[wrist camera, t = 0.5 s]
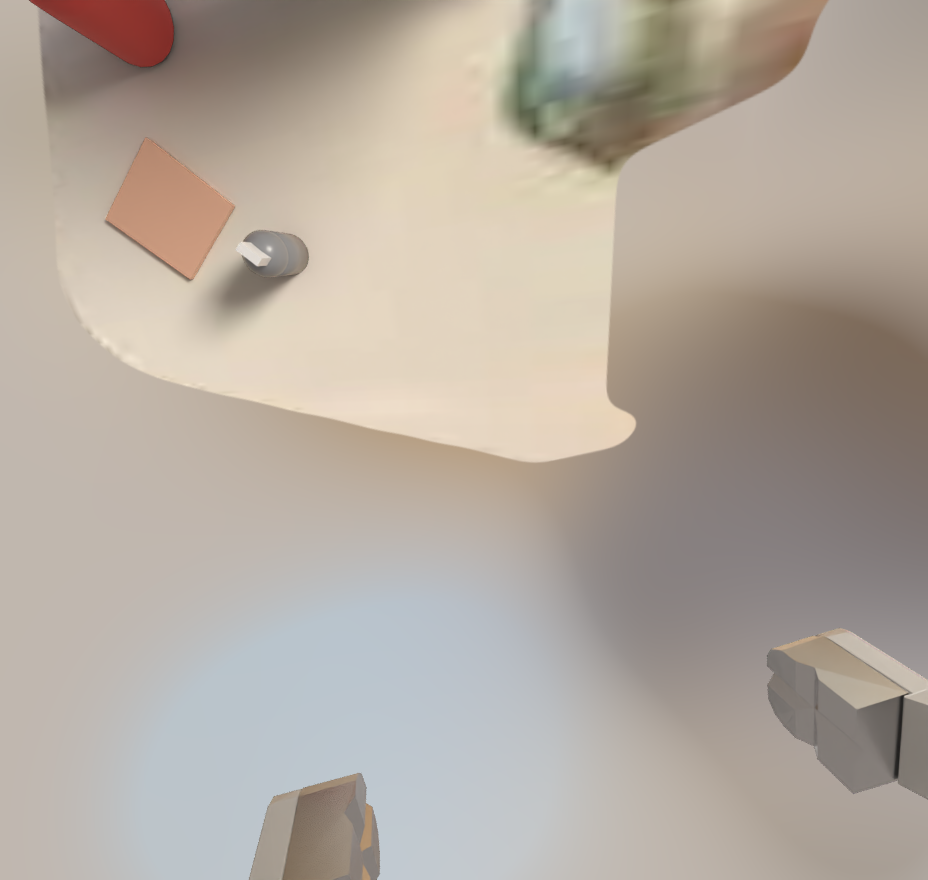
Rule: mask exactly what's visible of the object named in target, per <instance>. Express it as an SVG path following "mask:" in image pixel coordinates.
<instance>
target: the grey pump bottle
mask: <svg viewBox="0 0 928 880" xmlns="http://www.w3.org/2000/svg"><path fill="white" fill-rule="evenodd" d="M236 251H238V252H239V253H240V254H242V257H243V260H244V262H245V264H246V265H247V267H248V268H249V269H250V270H251V271H252V272H254V273H255V274H257V275H259V276H262V277H278V276H286V275H294V274H298V273H300V272H302V271H303V270H304V269H305V268H306V266H307V264H308V260H309V254H308V250H307V247H306V245H305V244H304V242H303V241H302V240H301V239H300V238H298V237H297V236H295V235H292V234H287V233H280V232H273V231H266V230H258V231H254V232H252V233H250V234H249V235H248V236H247V237H246V238H245V239H244V241H243V242H240V243H239V245H238V246H237V248H236Z"/></svg>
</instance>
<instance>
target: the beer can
mask: <svg viewBox="0 0 928 880" xmlns="http://www.w3.org/2000/svg"><path fill="white" fill-rule="evenodd" d="M29 1H30V2H32V3H33V4H35V5H36V6H38V7H39V8H41V9H42V10H44V11H45V12H47V13H48V14H50V15H51V16H53V17H55V18H56V19H58V20H59V21H61V22H63V23H64V24H66V25H67V26H69V27H71V28H72V29H74V30H75V31H77V32H79V33H80V34H82V35H84V36H85V37H87V38H88V39H90V40H92V41H93V42H95V43H96V44H98V45H100V46H101V47H103V48H104V49H106V50H108V51H109V52H111V53H112V54H114V55H116V56H117V57H119V58H121V59H122V60H124V61H125V62H127V63H129V64H132V65H136V66H139V67H149V66H154V65H156V64H158V63H160V62H162V61H163V60H164V59H165V57H166V56H167V55H168V54H169V53H170V50H171V47H172V44H173V36H174V26H173V22H172V18H171V14H170V10H169V8H168V6H167V4H166V2H165V0H29Z"/></svg>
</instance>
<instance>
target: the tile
mask: <svg viewBox="0 0 928 880" xmlns="http://www.w3.org/2000/svg"><path fill="white" fill-rule="evenodd" d="M234 208H235V206H234V205H233V204H232V203H231V202H229V201H228V200H227V199H225V198H224V197H223V196H222V195H220V194H219V193H218V192H217V191H215V190H214V189H213V188H211V187H210V186H209V185H208V184H206V183H205V182H204V181H202V180H201V179H200V178H199V177H197V176H196V175H195V174H194V173H192V172H191V171H190V170H188V169H187V168H186V167H185V166H183V165H182V164H181V163H179V162H178V161H177V160H176V159H174V158H173V157H172V156H171V155H169V154H168V153H167V152H165V151H164V150H163V149H162V148H160V147H159V146H158V145H156V144H155V143H154V142H153V141H151V140H150V139H148V138H145V140H144V142H143V144H142V146H141V148H140V150H139V152H138V154H137V156H136V158H135V160H134V162H133V164H132V166H131V168H130V170H129V172H128V174H127V176H126V178H125V180H124V182H123V184H122V186H121V188H120V190H119V192H118V194H117V196H116V198H115V200H114V202H113V204H112V206H111V208H110V210H109V212H108V215H107V217H106V220H107V221H109V222H110V223H111V224H113V225H114V226H116V227H117V228H118V229H120V230H121V231H123V232H124V233H125V234H127V235H128V236H130V237H131V238H133V239H134V240H135V241H137V242H138V243H140V244H141V245H142V246H144V247H145V248H147V249H148V250H149V251H151V252H152V253H154V254H155V255H156V256H158V257H159V258H161V259H162V260H163V261H165V262H166V263H168V264H169V265H170V266H172V267H173V268H175V269H176V270H178V271H179V272H180V273H182V274H183V275H185V276H186V277H187V278H189V279H190V280H191V279H194V277H195V275H196V274H197V272H198V270H199V268H200V267H201V265H202V263H203V261H204V260H205V258H206V256H207V254H208V253H209V251H210V249H211V248H212V246H213V244H214V242H215V241H216V239H217V237H218V235H219V234H220V232H221V230H222V229H223V227H224V225H225V223H226V222H227V220H228V218H229V216H230V215H231V213H232V211H233V209H234Z"/></svg>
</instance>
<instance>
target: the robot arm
mask: <svg viewBox="0 0 928 880" xmlns="http://www.w3.org/2000/svg"><path fill="white" fill-rule="evenodd" d="M767 666H768V667H769V668H770V669H771V670H772V671H773V672H774V674H773V676H772V678H771V680H770V681H769V683H768V699H769V701H770V704H771V706H772V708H773V710H774V713H775V715H776V716H777V717H778V719H779V720H780V721H781V723H782V724H783V726H784V727H785V728H786V729H787V730H788V731H789V732H790V733H791V734H792V735H793V736H794V737H795V738H797V739H799V740H802V741H804V742H806V743H808V744H810V745H813V746H814V749H815V752H816V756H817V759H818V760H819V761H820V762H821V763H822V764H823V765H824V766H825V767H826V768H827V769H828V770H829V771H830V772H831V773H832V774H833V775H834V776H835V777H836V778H837V779H838V780H839V781H840V782H841V783H842V784H843V785H844V786H846V787H847V788H848V789H849V790H850V791H851V792H852V793H853V794H855V793H858V792H861V791H864V790H868V789H871V788H875V787H878V786H881V785H884V784H888V783H891V782H894V781H897V780H898V784H899V785H901V786H903V787H905V788H907V789H909V790H911V791H912V792H914V793H916V794H918V795H920V796H922V797H924V798H926V799H928V680H927V679H925V678H924V677H922V676H920V675H919V674H917V673H916V672H914V671H912V670H911V669H909V668H908V667H906V666H904V665H903V664H901V663H900V662H898V661H896V660H895V659H893V658H892V657H890V656H888V655H887V654H885V653H883V652H882V651H881V650H879V649H877V648H876V647H874V646H873V645H871V644H869V643H868V642H866V641H865V640H863V639H861V638H860V637H858V636H857V635H855V634H853V633H852V632H850V631H847V630H844V629H841V628H838V629H835V630H831V631H828V632H825V633H821V634H818V635H816V636H811V637H807V638H804V639H801V640H798V641H795V642H792V643H788V644H785V645H782V646H779V647H776V648H773V649H771V650H770V651H769V653H768V655H767ZM379 874H380V851H379V839H378V829H377V824H376V819H375V815H374V811H373V808H372V806H370V805H368V804H367V803H366V785H365V782H364V779H363V776H362V774H361V773H357V774H353V775H350V776H346V777H342V778H339V779H334V780H331V781H327V782H323V783H320V784H316V785H313V786H308V787H305V788H303V789H299V790H296V791H292V792H289V793H285V794H281V795H277V796H274V797H273V799H272V801H271V802H270V804H269V806H268V808H267V812H266V816H265V819H264V823H263V827H262V831H261V835H260V838H259V842H258V846H257V850H256V854H255V858H254V861H253V865H252V869H251V873H250V877H249V880H377V877H378V876H379Z"/></svg>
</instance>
